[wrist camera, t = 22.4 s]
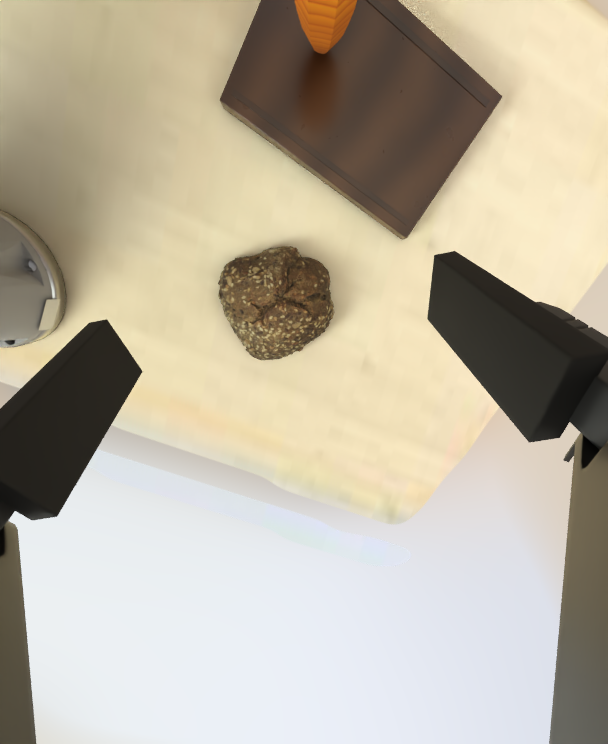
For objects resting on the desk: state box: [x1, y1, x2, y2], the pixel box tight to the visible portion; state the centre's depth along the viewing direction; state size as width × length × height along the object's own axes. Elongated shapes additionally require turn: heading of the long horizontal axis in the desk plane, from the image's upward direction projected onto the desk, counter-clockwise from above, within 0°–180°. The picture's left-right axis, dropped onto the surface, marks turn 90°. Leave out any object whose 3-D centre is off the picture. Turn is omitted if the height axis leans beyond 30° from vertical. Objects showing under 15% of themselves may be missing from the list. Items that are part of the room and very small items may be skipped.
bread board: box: [220, 0, 502, 239], centre depth 27 cm, size 22×14×2 cm, turn 58°
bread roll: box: [218, 246, 334, 360], centre depth 32 cm, size 13×12×5 cm
